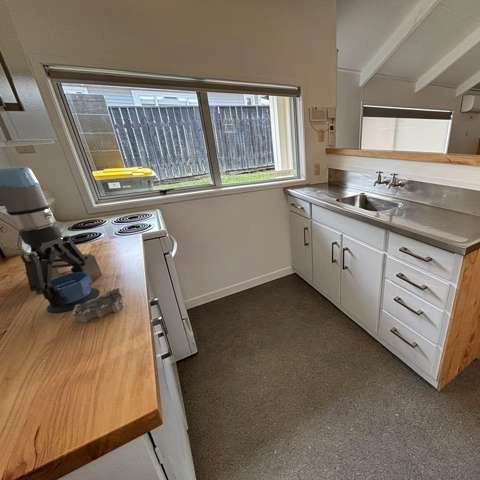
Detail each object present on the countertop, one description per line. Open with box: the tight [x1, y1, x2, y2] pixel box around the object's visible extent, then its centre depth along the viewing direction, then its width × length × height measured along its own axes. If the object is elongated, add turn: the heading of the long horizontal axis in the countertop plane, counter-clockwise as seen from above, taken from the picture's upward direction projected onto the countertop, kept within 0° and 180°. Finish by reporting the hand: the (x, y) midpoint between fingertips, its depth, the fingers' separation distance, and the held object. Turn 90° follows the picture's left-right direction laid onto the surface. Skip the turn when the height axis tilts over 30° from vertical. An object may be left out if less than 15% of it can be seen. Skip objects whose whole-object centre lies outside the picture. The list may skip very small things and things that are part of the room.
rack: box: [25, 253, 103, 295], centre depth 85 cm, size 14×9×9 cm, turn 99°
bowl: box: [51, 271, 92, 304], centre depth 77 cm, size 10×10×6 cm
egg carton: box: [71, 288, 124, 324], centre depth 72 cm, size 11×8×4 cm
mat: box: [46, 287, 100, 314], centre depth 78 cm, size 12×12×1 cm
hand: (72, 295), depth 77 cm, fingers closed on bowl, 10 cm apart
